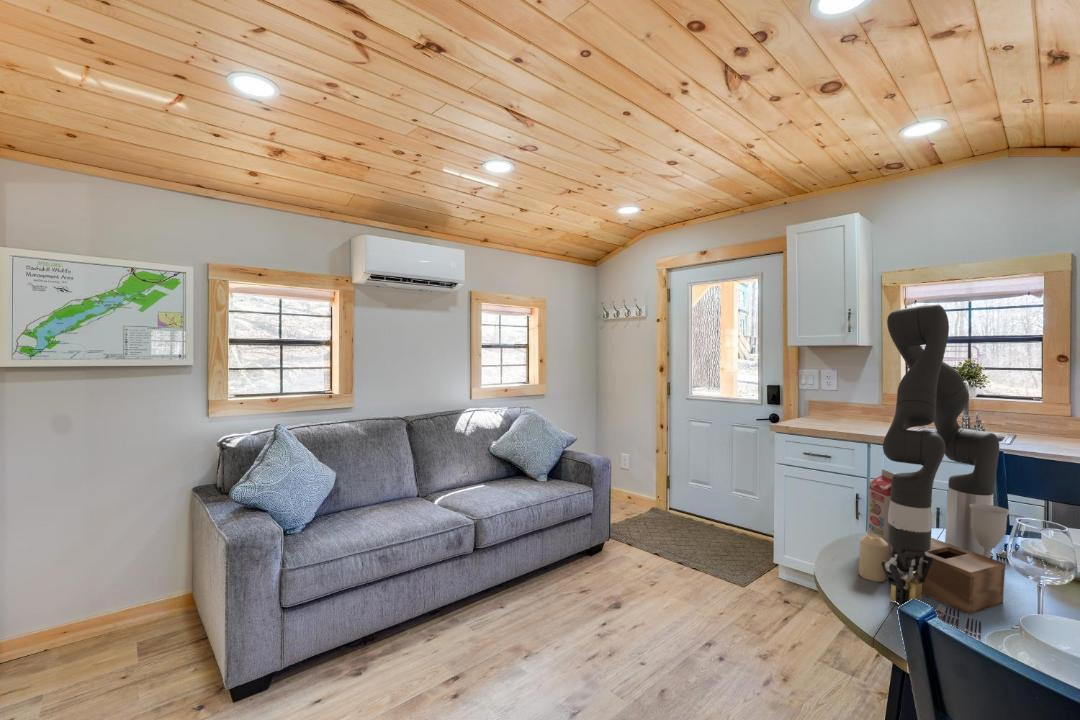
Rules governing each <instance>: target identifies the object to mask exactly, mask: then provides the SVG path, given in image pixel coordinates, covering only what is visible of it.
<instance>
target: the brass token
mask: <svg viewBox="0 0 1080 720" xmlns="http://www.w3.org/2000/svg"><path fill="white" fill-rule="evenodd" d="M901 580H902V582H903V580H904V579H903V578H902V577H901ZM895 595H896V586H894V585H892V584H890V600H892V601H896V599H895ZM922 595H923V594H922V583H921V582H918V581H916V580H913V579H910V580H909V588H908V601H909V600H911V599H917V600H920V601H921V602H922ZM890 600H889V601H890ZM899 605H900V604H899ZM899 605H898V606H899Z"/></svg>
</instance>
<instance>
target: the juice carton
mask: <svg viewBox="0 0 1080 720" xmlns="http://www.w3.org/2000/svg"><path fill="white" fill-rule="evenodd" d="M895 474H896V473H893V472H890V471H888V470H885V469H881V475H879V476H878V477H875V478H874V479H872V480H870V481H869V487H868V488H869V490H868V505H867V507H868V509H867V510H868V511H867V527H866V535H867V534H876V535H877V536H879V537H881V538H882V539H883V540H884V541H886V542H887V544H888V553H887V560H890V559H891V552H892V549H893V547H892V545H891V544H890V543H889V542H888V540H887V533H888V514H889V506H890V501H891V483H892V477H893V476H894V475H895Z"/></svg>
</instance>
